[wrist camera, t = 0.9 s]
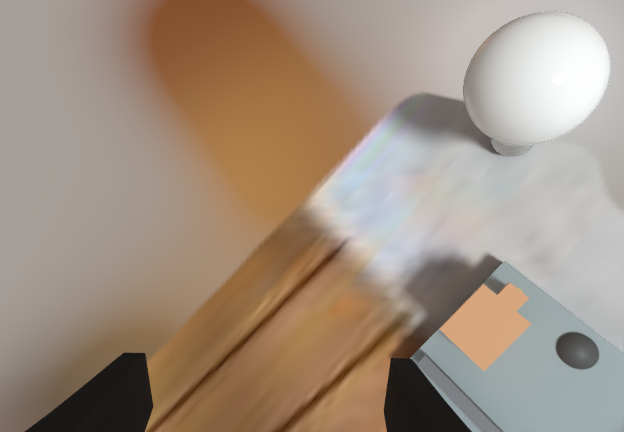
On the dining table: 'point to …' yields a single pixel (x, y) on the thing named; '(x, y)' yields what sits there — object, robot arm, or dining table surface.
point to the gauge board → (532, 372)
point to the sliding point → (487, 323)
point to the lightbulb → (536, 80)
